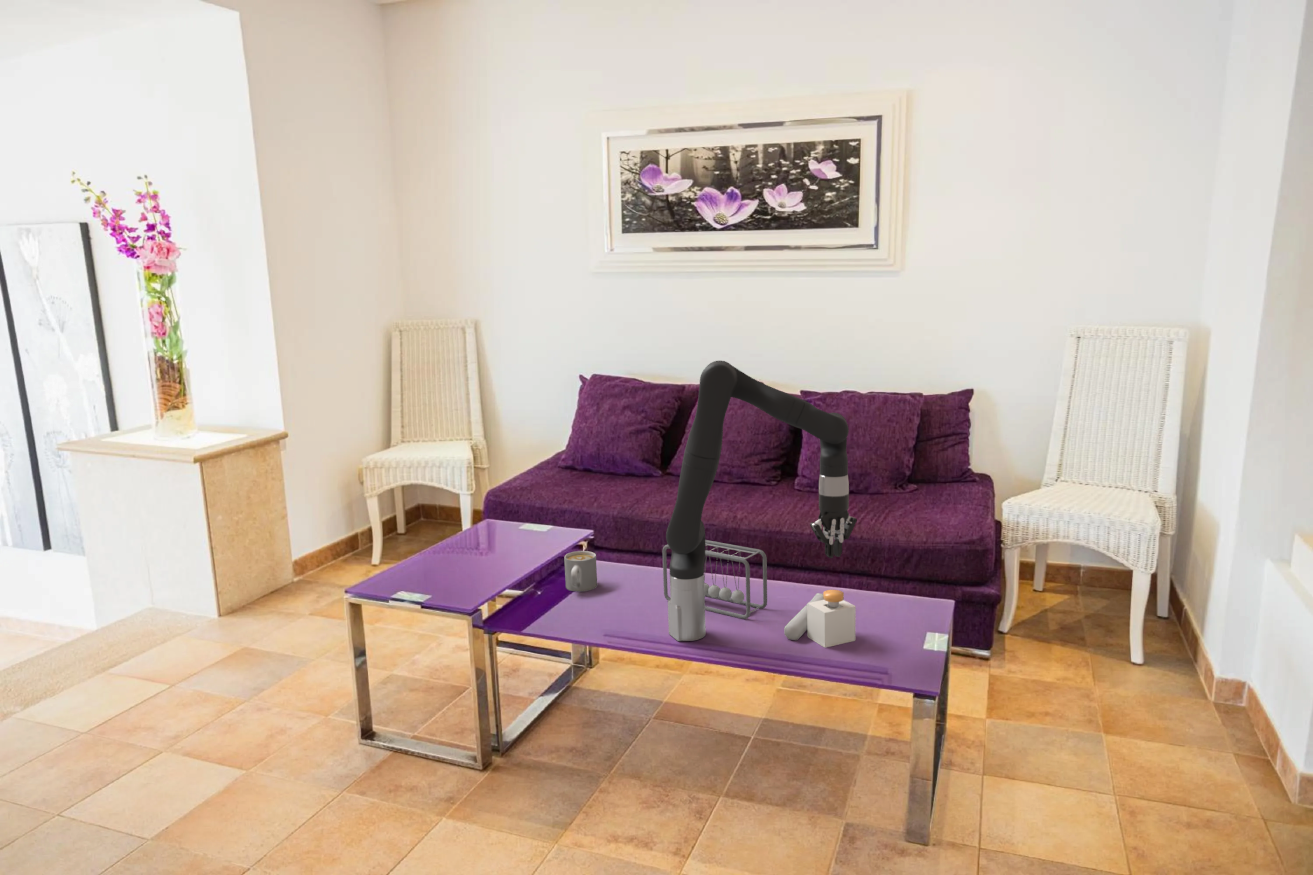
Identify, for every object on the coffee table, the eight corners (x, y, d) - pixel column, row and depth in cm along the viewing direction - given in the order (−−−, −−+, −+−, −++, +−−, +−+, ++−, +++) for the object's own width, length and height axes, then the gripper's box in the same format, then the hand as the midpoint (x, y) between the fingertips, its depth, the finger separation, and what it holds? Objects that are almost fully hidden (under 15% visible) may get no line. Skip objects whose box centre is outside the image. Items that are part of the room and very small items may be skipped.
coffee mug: (574, 579, 292) (573, 549, 290) (602, 582, 288) (601, 552, 286) (555, 593, 279) (553, 562, 278) (583, 596, 276) (582, 565, 274)
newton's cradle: (768, 609, 261) (767, 550, 257) (749, 621, 252) (748, 560, 249) (683, 590, 278) (681, 535, 275) (663, 600, 270) (661, 543, 267)
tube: (802, 630, 235) (832, 598, 256) (784, 621, 237) (815, 589, 259) (796, 647, 237) (827, 613, 258) (778, 637, 239) (810, 605, 260)
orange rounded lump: (830, 610, 232) (831, 597, 232) (819, 604, 237) (819, 591, 236) (847, 607, 234) (847, 594, 234) (836, 600, 239) (836, 588, 238)
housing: (824, 647, 233) (824, 612, 231) (807, 636, 240) (807, 602, 238) (855, 640, 236) (855, 606, 235) (837, 630, 244) (837, 596, 242)
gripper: (819, 498, 224) (819, 564, 227) (864, 491, 229) (864, 556, 232) (802, 491, 231) (803, 556, 234) (847, 485, 236) (846, 548, 239)
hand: (833, 556), depth 233 cm, fingers closed
